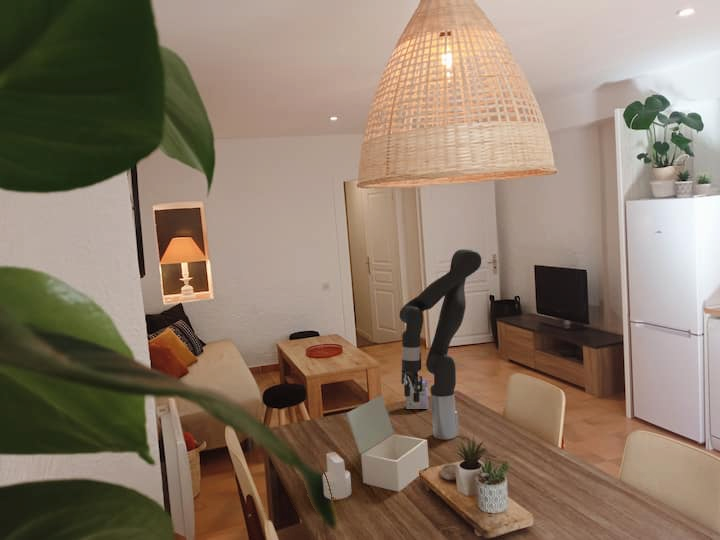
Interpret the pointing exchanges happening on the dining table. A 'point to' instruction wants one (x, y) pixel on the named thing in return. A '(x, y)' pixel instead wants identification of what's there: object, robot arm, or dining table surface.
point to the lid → (370, 424)
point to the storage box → (394, 462)
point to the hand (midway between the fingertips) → (411, 399)
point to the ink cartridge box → (422, 398)
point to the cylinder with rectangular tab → (336, 478)
